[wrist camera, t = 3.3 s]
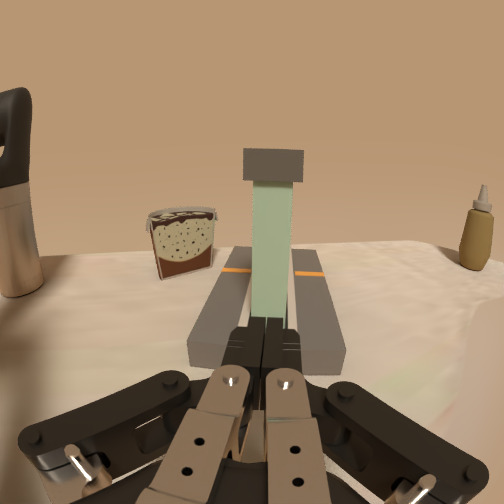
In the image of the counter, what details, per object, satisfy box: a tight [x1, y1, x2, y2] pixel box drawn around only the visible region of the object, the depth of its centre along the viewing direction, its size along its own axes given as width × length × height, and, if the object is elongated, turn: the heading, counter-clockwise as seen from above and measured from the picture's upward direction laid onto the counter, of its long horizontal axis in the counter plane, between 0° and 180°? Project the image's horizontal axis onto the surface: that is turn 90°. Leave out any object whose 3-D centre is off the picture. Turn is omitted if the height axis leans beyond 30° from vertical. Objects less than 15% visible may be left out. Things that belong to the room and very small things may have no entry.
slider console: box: [187, 243, 346, 375], centre depth 38 cm, size 14×28×4 cm, turn 174°
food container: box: [146, 207, 218, 280], centre depth 48 cm, size 12×6×10 cm, turn 130°
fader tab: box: [243, 148, 304, 329], centre depth 25 cm, size 4×5×16 cm
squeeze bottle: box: [459, 185, 494, 271], centre depth 47 cm, size 8×8×18 cm
